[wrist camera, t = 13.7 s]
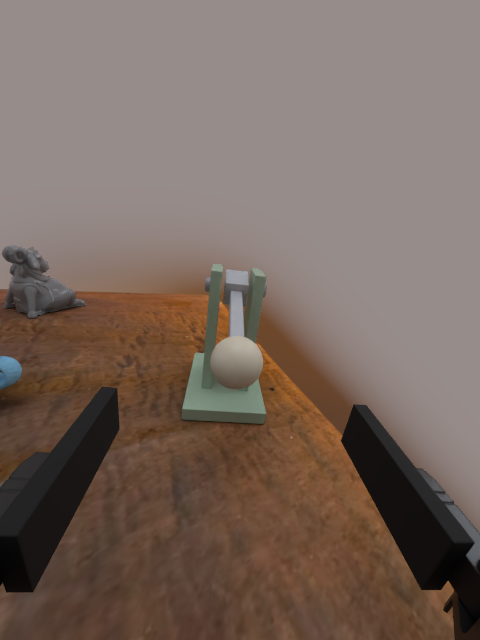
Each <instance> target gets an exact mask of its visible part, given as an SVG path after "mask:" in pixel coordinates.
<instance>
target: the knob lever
mask: <svg viewBox="0 0 480 640" xmlns="http://www.w3.org/2000/svg"><path fill="white" fill-rule="evenodd" d="M248 288H249V281H248V272H243V271H235V270H226V277H225V286H224V299H223V304H229V337H228V338H225V339H223V340H222V341H220V342H219V343H218V344H217V345H216V347H215V348H214V350H213V352H212V354H211V359H210V367H211V371H212V374H213V376H214V377H215V379H216V380H217V381H218V382H219V383H220V384H221V385H223V386H224V387H226V388H229V389H244V388H247V387H249V386H250V385H252V384H253V383H254V382H255V381H256V380H257V379H258V378H259V376H260V374H261V371H262V367H263V358H262V354H261V351H260V349H259V348H258V346H257V345H256V344H255V343H254V342H253V341H251V340H250V339H248V338H246V337H244V320H243V306H245V304H246V299H247V293H248Z"/></svg>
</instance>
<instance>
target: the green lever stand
mask: <svg viewBox="0 0 480 640" xmlns="http://www.w3.org/2000/svg"><path fill="white" fill-rule="evenodd" d="M222 270H223V265H221V264H213V266H212V270H211V278H209V277H207V278H206V284H205V291H207V292H209V303H208V315H207V327H206V339H205V350H204V353H195V355H194V360H193V364H192V368H191V373H190V377H189V381H188V385H187V390H186V394H185V398H184V403H183V407H182V420H199V421H217V422H236V423H254V424H264V422H265V417H266V411H265V407H264V402H263V398H262V394H261V389H260V385H259V380H258V379H257V380H256V381H255V382H254V383H253V384H252V385H250V386H249V387H247V388H244V389H229V388H226V387H224V386H223V385H221V384H220V383H219V382H218V381H217V380H216V379H215V377H214V376H213V374H212V371H211V367H210V359H211V354H212V352H213V350H214V348H215V341H216V331H217V321H218V311H219V301H220V291H221V281H222ZM265 281H266V276H265V275H264V274H263V272H261V270H260V269H254V268H251V270H250V277H249V288H248V293H247V299H246V307H245V314H244V337H246V338H248V339H250V340H251V341H253V342H254V343H256V337H257V331H258V325H259V319H260V313H261V307H262V300H263V298H264V297H265V294H266V284H265Z"/></svg>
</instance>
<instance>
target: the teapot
mask: <svg viewBox="0 0 480 640" xmlns="http://www.w3.org/2000/svg"><path fill="white" fill-rule="evenodd" d="M0 371H1V372H2V373H0V389H4V388H6V387H9V386H11V385H13V384H14V383H16V382H17V381H18V380H19V378H20V377H21V373H22V368H21V365H20V364H19V363H18V361H16V360H15V359H13V358H10V357H5V356H3V357H0Z"/></svg>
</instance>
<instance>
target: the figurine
mask: <svg viewBox="0 0 480 640" xmlns="http://www.w3.org/2000/svg"><path fill="white" fill-rule="evenodd" d="M2 255H3V257H4V258H5V259H6V260H7V261H8V262H11V263H13V265H12V266H11V269H10V273H11V274H12V275H13V276H12V278H11V281H10V285H9V289H8V292H7V295H6V298H5V302H4V305H3V307H4V308H13V307H16V309H17V311H18V312H23V313H26V314H27V316H28V318H36V317H38V315H42V314H45V313H47V312H53V311H58V310H61V309H64V308H65V309H66V308H72V307H77V306H83V305H86V304H85V302H84V301H83V300H81V299H80V300H79V299H76V293H75V292H74V291H73V290H72V289H68V288H67V287H66V285H65V284H64V283H62V282H60V281H58V280H56V279H53V278H50V276H45V275H43V274H42V273H43V272H46V271H47V270H48V269H49V266H48V262H46V261H45V260H44V259H43V258H42V256H41V255H40V254H39V253H38V252H37V251H36V250H34V248H33V247H31V248H29V249H27V250H25V249H23V248H21V247H17V246H7V247H5V248H4V249H3V251H2ZM14 305H15V306H14Z"/></svg>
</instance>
